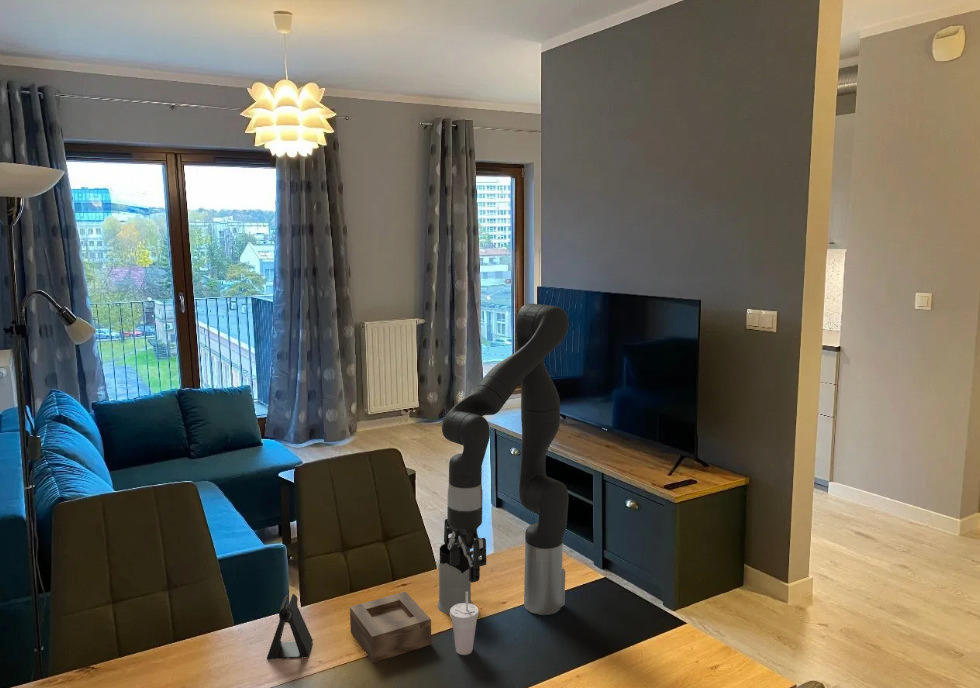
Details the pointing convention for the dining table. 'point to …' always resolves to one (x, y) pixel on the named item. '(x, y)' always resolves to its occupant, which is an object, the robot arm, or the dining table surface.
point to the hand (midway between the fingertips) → (464, 573)
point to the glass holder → (453, 580)
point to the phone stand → (299, 631)
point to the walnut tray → (390, 626)
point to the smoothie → (464, 626)
